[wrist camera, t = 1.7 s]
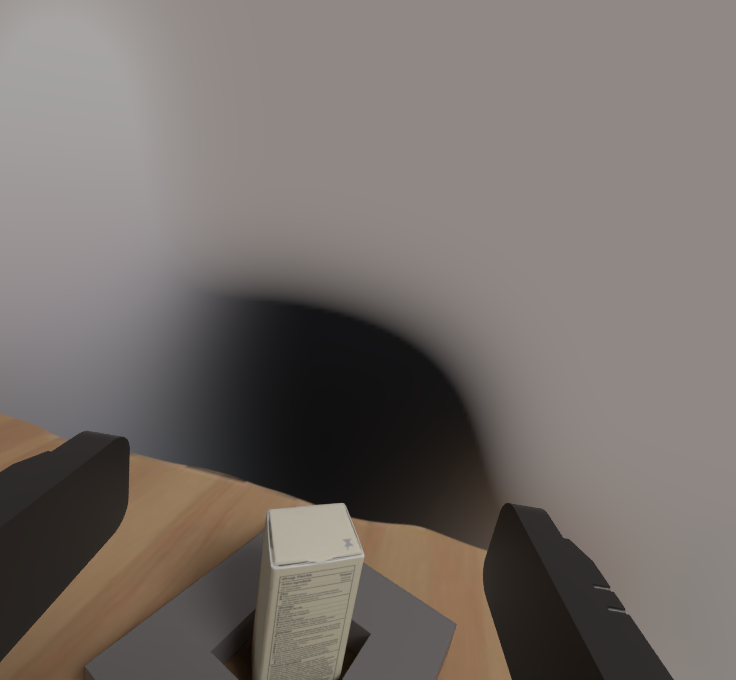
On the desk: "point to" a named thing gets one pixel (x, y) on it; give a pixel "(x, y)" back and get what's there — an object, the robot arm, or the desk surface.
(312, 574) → the box
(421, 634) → the socket block
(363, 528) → the desk surface
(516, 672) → the robot arm
